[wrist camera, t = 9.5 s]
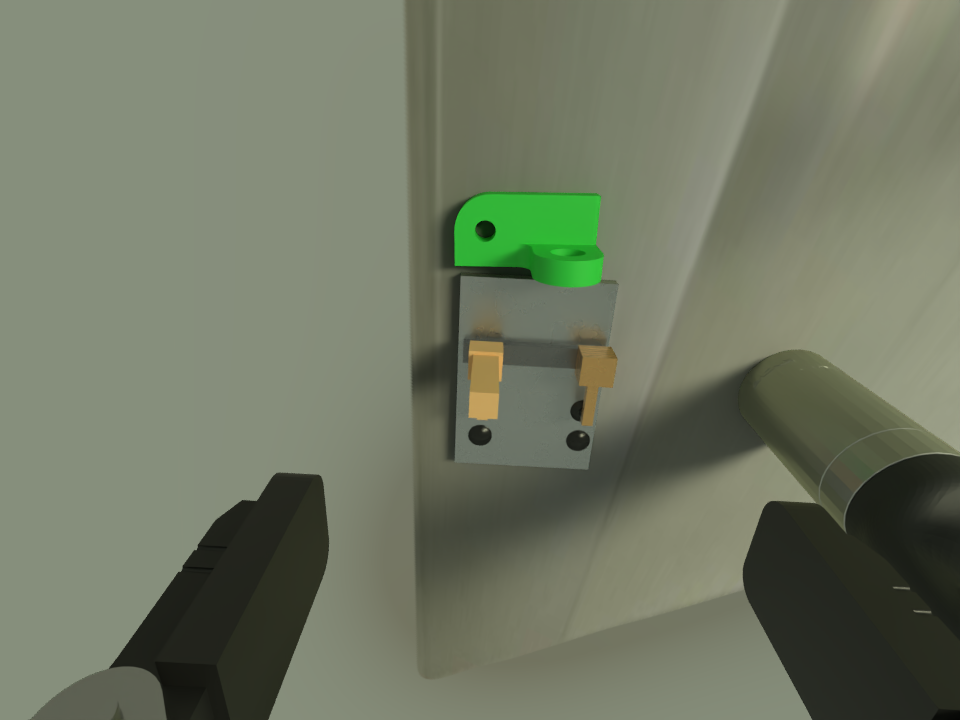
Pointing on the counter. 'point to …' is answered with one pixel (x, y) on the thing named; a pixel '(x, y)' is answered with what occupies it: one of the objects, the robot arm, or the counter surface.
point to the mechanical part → (534, 235)
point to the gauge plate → (535, 369)
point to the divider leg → (484, 378)
